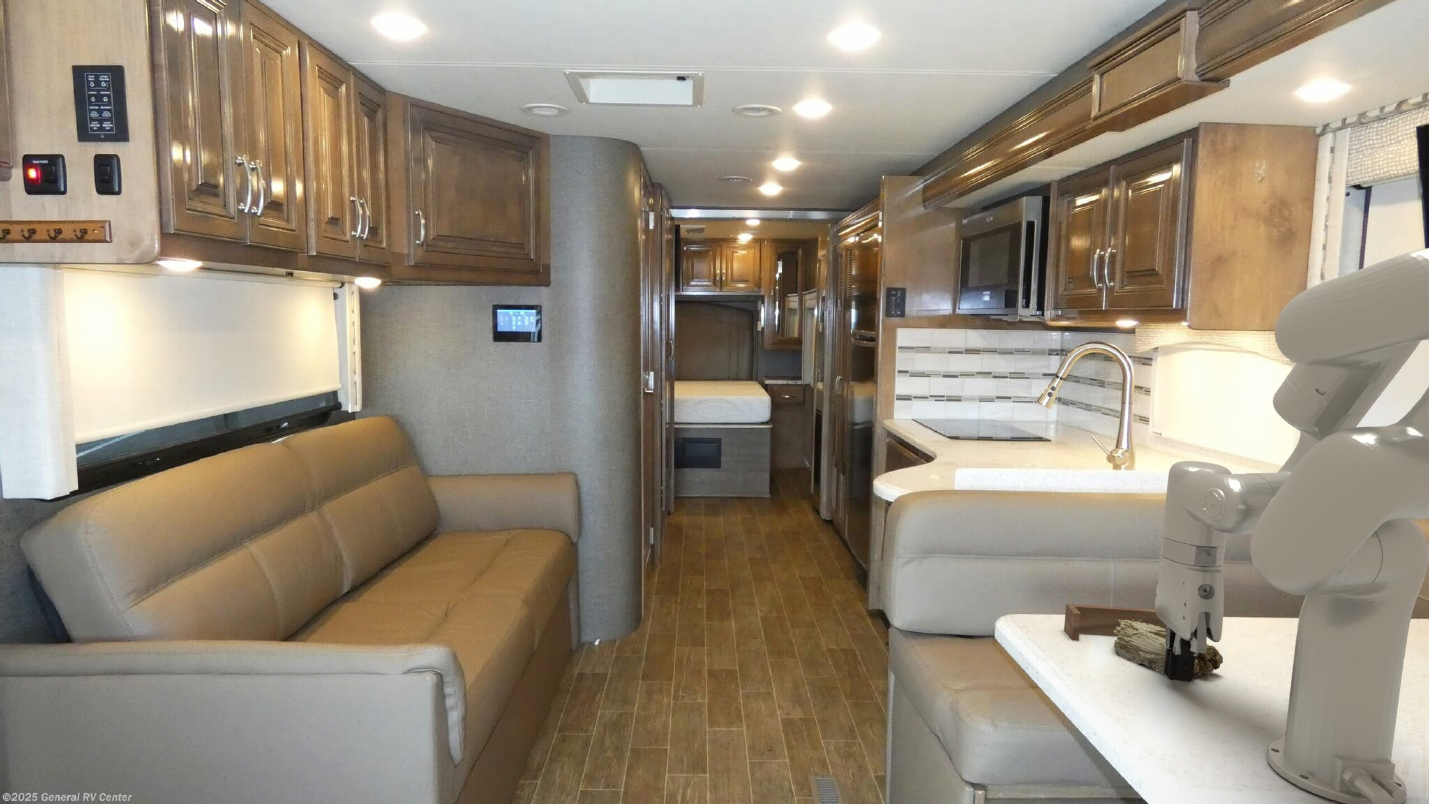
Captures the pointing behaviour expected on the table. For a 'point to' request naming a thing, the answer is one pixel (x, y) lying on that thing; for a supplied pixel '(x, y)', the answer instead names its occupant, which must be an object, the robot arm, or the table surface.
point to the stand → (1103, 619)
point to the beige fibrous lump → (1157, 648)
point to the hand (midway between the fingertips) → (1177, 678)
